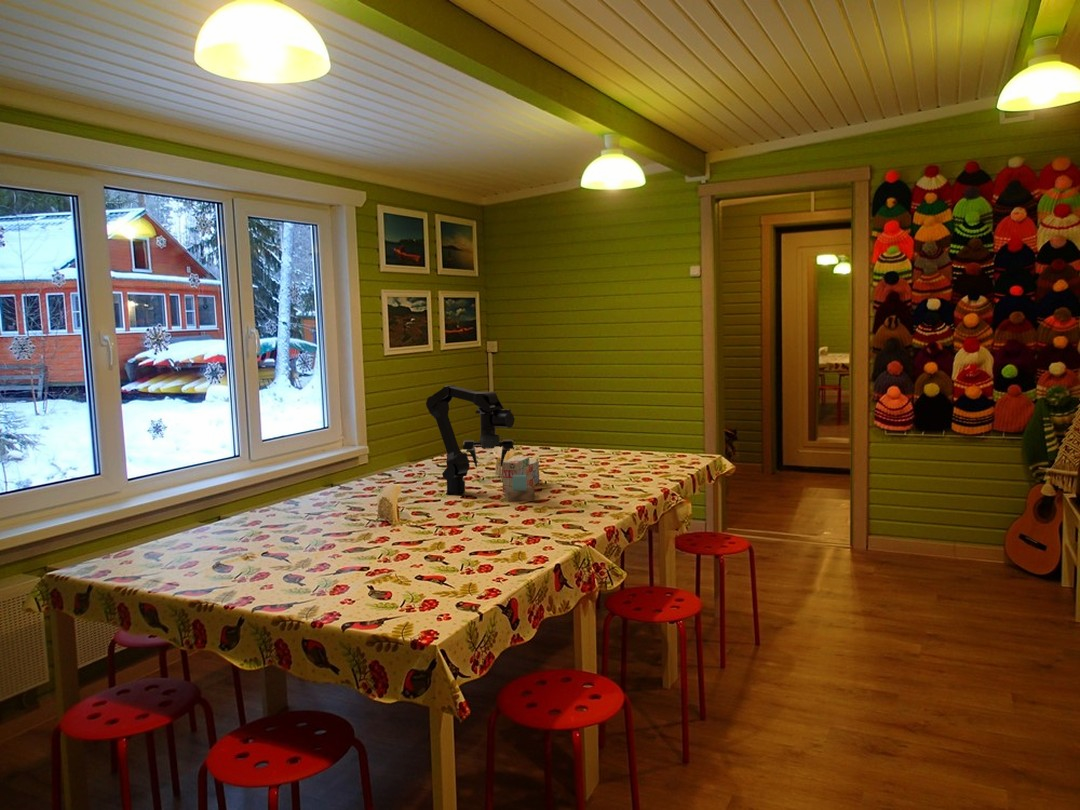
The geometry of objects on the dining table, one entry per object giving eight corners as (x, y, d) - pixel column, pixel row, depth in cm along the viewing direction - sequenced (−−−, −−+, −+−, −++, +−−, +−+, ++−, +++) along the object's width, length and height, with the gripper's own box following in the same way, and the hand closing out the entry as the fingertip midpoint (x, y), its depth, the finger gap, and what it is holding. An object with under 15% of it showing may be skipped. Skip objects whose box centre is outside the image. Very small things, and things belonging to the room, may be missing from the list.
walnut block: (507, 503, 298) (507, 492, 298) (505, 497, 308) (504, 486, 307) (534, 501, 300) (534, 491, 299) (531, 495, 309) (530, 485, 309)
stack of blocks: (525, 482, 334) (525, 452, 332) (539, 483, 331) (539, 453, 330) (502, 492, 314) (501, 461, 313) (517, 493, 312) (516, 462, 311)
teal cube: (512, 490, 300) (512, 477, 300) (513, 487, 305) (512, 474, 305) (526, 490, 300) (526, 477, 300) (526, 487, 305) (526, 474, 305)
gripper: (461, 429, 294) (462, 471, 296) (513, 428, 294) (513, 471, 296) (463, 425, 305) (464, 465, 307) (513, 424, 306) (513, 465, 307)
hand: (488, 467), depth 304 cm, fingers open, 9 cm apart
